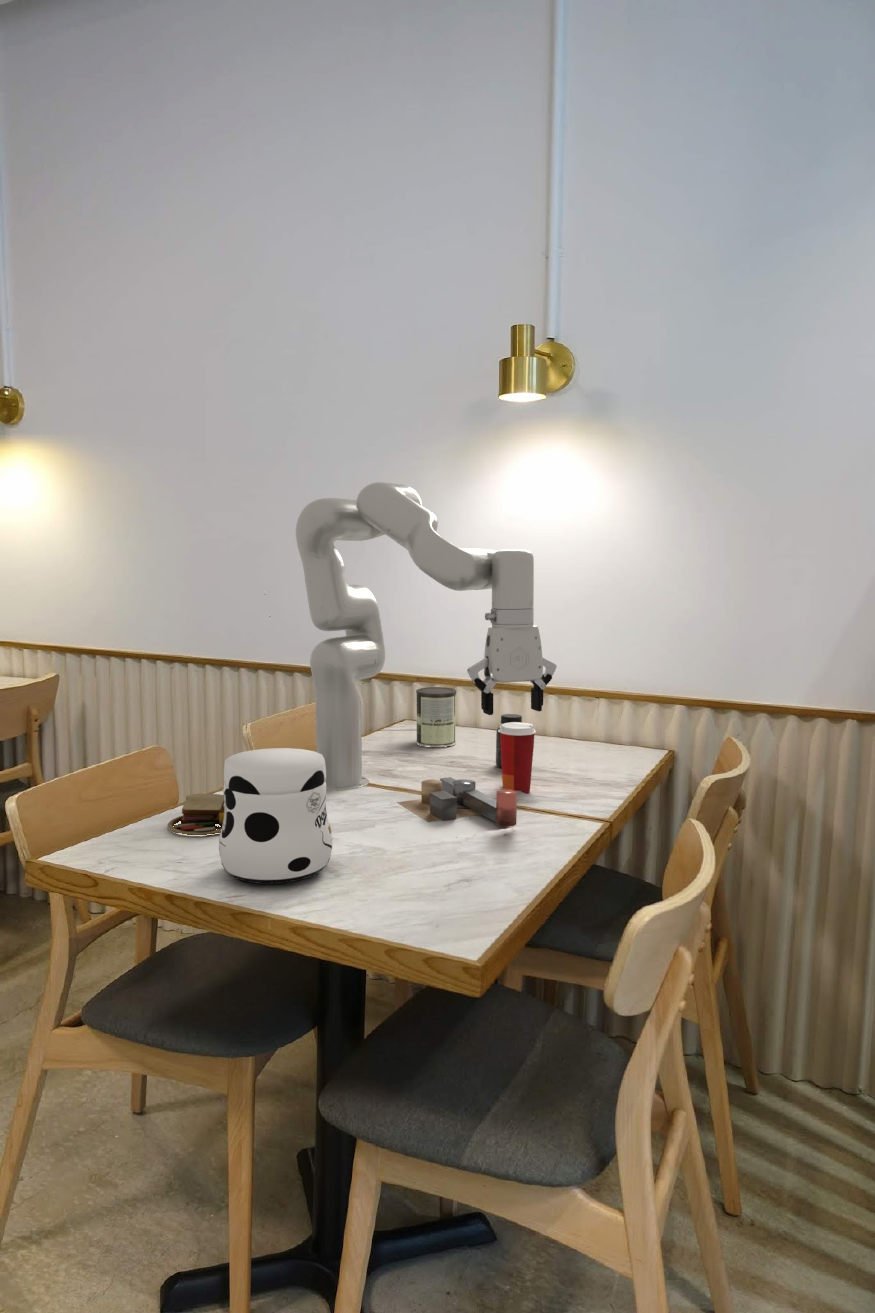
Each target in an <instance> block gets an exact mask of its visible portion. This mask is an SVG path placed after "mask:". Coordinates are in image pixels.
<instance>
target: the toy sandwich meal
mask: <svg viewBox="0 0 875 1313" xmlns="http://www.w3.org/2000/svg"><path fill="white" fill-rule="evenodd" d="M185 798H186V800H185V802H184V803H183V805H182V807H181V814H182V815H180V816H177V817H175V818H172V819H171V820H170V821H169V822H167V829H169V830H170V831H171V832H172V831H173V832H175V833H182V834H187V835H207V834H215V833H221V829H222V825H223V820H224V794H218V793H193V794H189V795H186V796H185ZM179 821H181V824H178V825H174V824H176V823H178V822H179ZM215 824H219V825H220V826H221V827H219V826H218V827H217V826H215ZM173 826H174V827H173ZM216 829H217V830H216ZM173 832H172V833H173ZM175 833H174V834H175Z"/></svg>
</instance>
